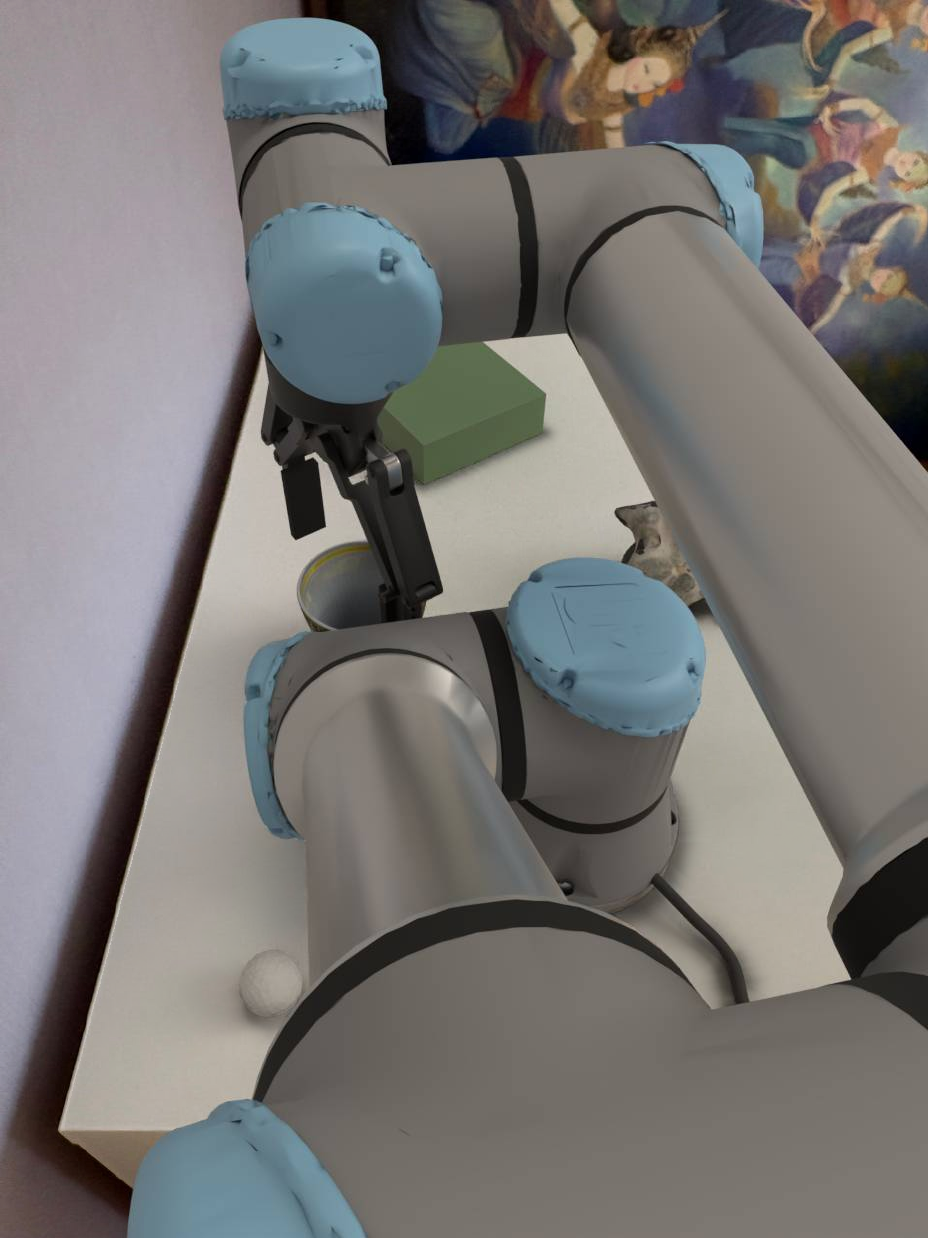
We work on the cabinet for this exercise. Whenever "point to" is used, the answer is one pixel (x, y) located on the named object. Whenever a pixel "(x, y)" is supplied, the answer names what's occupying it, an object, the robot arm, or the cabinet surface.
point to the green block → (461, 411)
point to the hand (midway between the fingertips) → (353, 584)
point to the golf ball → (270, 983)
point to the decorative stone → (657, 550)
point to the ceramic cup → (341, 588)
